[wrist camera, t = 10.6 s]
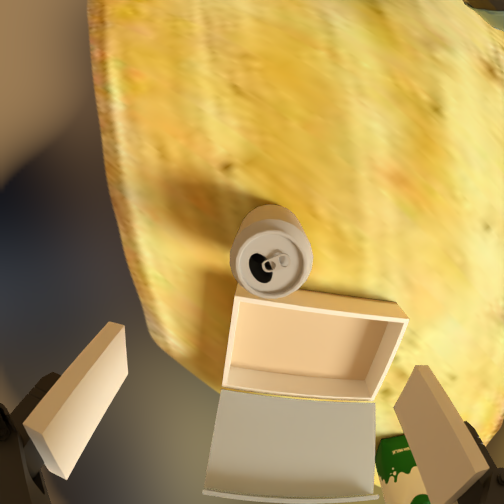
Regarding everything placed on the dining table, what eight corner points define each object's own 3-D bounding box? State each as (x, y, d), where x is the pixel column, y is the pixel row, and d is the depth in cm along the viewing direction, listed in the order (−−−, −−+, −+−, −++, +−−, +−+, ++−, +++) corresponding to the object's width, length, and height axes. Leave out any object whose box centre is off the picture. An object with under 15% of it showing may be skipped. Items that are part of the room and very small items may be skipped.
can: (229, 218, 37) (211, 244, 26) (287, 193, 36) (295, 208, 24) (255, 272, 39) (249, 318, 27) (310, 249, 38) (327, 287, 26)
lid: (202, 493, 26) (203, 492, 28) (378, 498, 26) (370, 498, 28) (221, 385, 36) (221, 390, 38) (380, 399, 36) (373, 403, 38)
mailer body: (238, 279, 39) (234, 295, 34) (396, 302, 39) (409, 319, 34) (226, 365, 43) (221, 386, 38) (365, 380, 43) (373, 400, 38)
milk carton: (417, 428, 47) (447, 503, 28) (405, 453, 49) (429, 523, 30) (377, 437, 47) (401, 519, 28) (368, 461, 50) (386, 535, 31)
